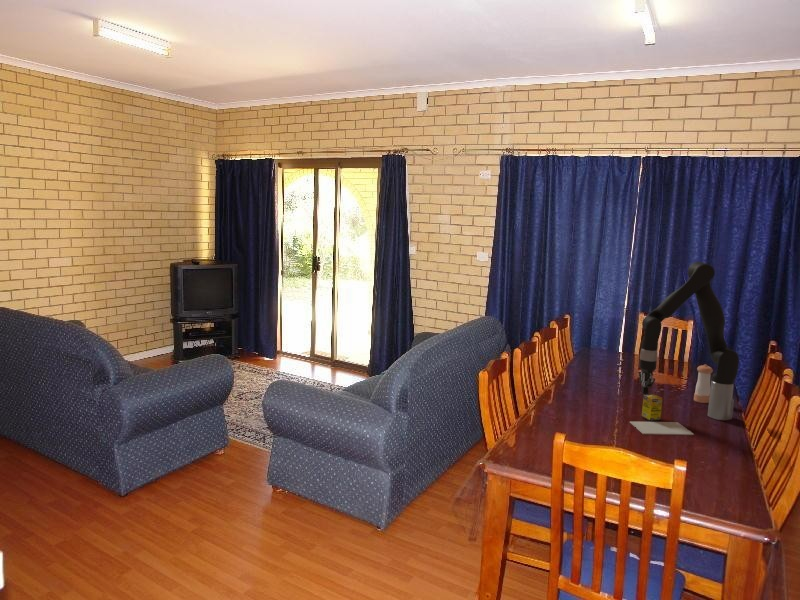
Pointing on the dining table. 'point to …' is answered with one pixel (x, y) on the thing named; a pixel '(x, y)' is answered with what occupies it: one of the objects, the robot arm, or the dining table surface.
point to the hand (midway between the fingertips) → (644, 394)
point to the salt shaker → (703, 384)
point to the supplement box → (652, 407)
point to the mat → (661, 428)
